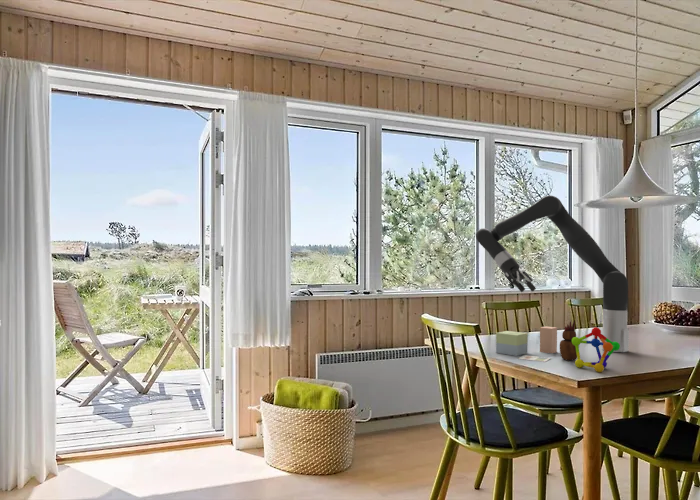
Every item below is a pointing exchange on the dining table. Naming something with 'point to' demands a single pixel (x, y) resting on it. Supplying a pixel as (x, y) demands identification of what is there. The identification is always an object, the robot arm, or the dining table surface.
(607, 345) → the educational toy
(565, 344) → the wooden figurine
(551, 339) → the brick
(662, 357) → the dining table surface
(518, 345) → the pedestal
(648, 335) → the dining table surface
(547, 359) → the page
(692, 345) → the dining table surface
